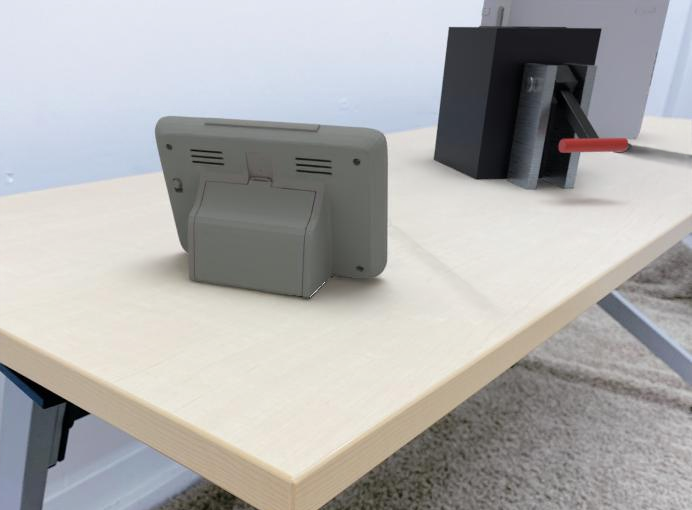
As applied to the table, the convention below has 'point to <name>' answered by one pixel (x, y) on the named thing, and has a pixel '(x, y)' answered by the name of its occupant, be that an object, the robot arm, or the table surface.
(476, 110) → the toaster
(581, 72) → the lever bracket
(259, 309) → the table surface
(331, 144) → the digital clock
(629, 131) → the game console
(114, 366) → the table surface
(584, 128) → the toaster lever
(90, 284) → the table surface
